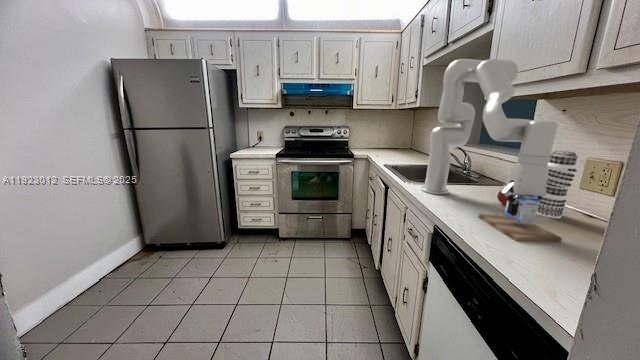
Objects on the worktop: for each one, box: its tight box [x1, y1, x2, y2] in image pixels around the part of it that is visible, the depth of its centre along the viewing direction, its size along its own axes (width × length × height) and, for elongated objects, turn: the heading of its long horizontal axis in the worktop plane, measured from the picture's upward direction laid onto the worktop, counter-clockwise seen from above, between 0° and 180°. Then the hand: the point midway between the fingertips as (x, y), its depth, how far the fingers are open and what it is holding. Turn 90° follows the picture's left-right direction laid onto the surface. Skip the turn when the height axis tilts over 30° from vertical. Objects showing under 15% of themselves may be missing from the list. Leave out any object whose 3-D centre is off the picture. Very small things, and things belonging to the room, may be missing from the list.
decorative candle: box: [536, 150, 579, 219], centre depth 96 cm, size 9×9×25 cm
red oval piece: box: [497, 188, 507, 206], centre depth 108 cm, size 6×6×8 cm
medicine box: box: [503, 192, 540, 224], centre depth 83 cm, size 8×4×9 cm, turn 178°
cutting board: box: [478, 213, 563, 243], centre depth 85 cm, size 18×14×2 cm
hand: (519, 213), depth 84 cm, fingers closed on medicine box, 4 cm apart
